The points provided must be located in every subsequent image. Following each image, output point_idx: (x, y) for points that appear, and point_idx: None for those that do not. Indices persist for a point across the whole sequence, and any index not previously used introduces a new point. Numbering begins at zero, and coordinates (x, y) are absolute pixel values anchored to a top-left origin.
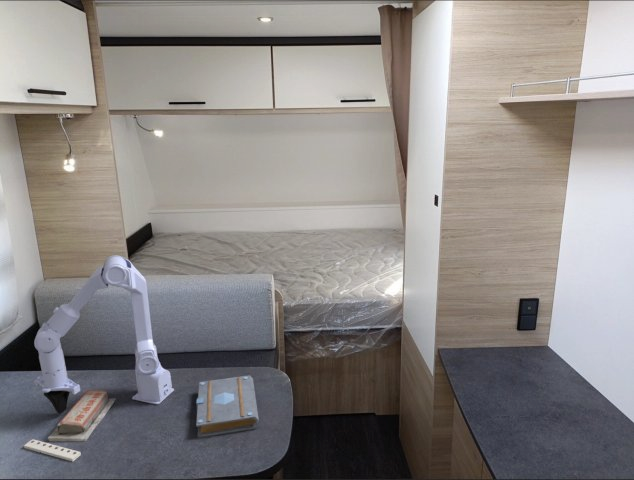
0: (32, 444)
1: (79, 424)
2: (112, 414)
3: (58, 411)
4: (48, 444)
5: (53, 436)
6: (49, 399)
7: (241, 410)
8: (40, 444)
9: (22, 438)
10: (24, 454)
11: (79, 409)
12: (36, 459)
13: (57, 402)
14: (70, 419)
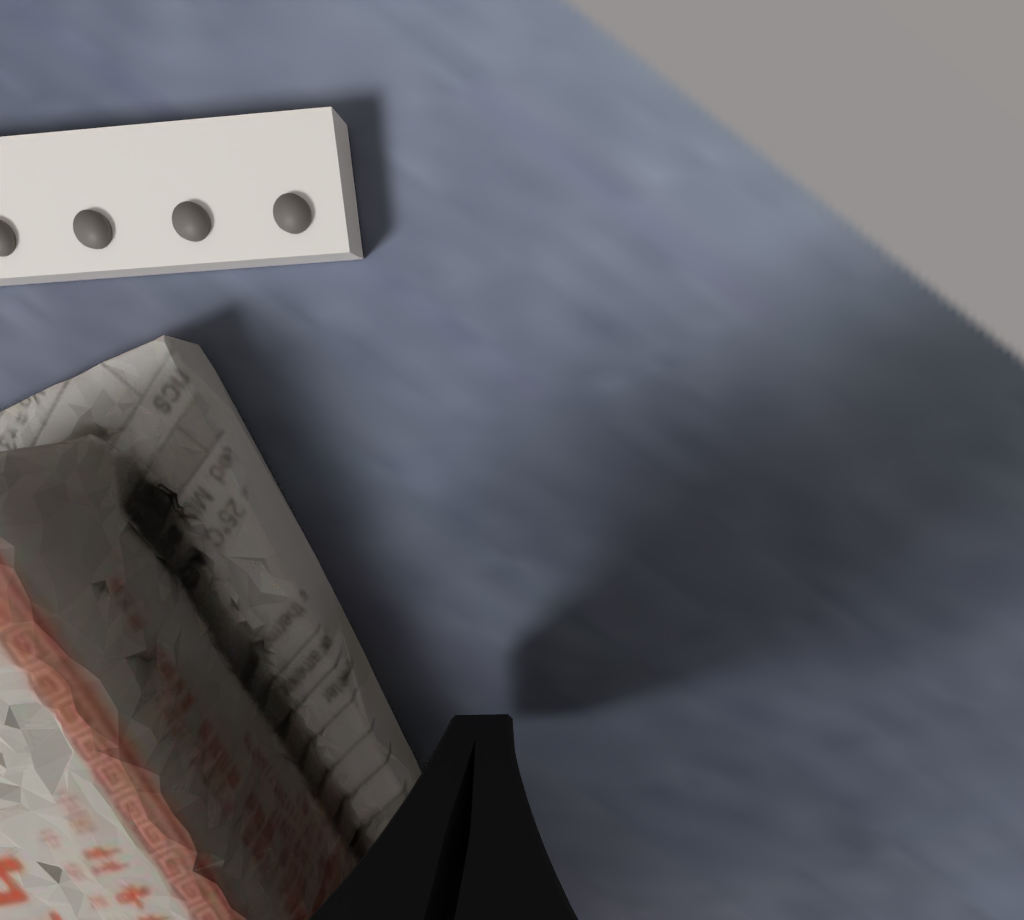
0: (247, 173)
1: None
2: None
3: (465, 730)
4: (59, 256)
5: (132, 382)
6: (542, 915)
7: None
8: (151, 216)
9: (552, 254)
10: (231, 37)
11: (32, 837)
12: (5, 34)
13: (354, 882)
14: None
